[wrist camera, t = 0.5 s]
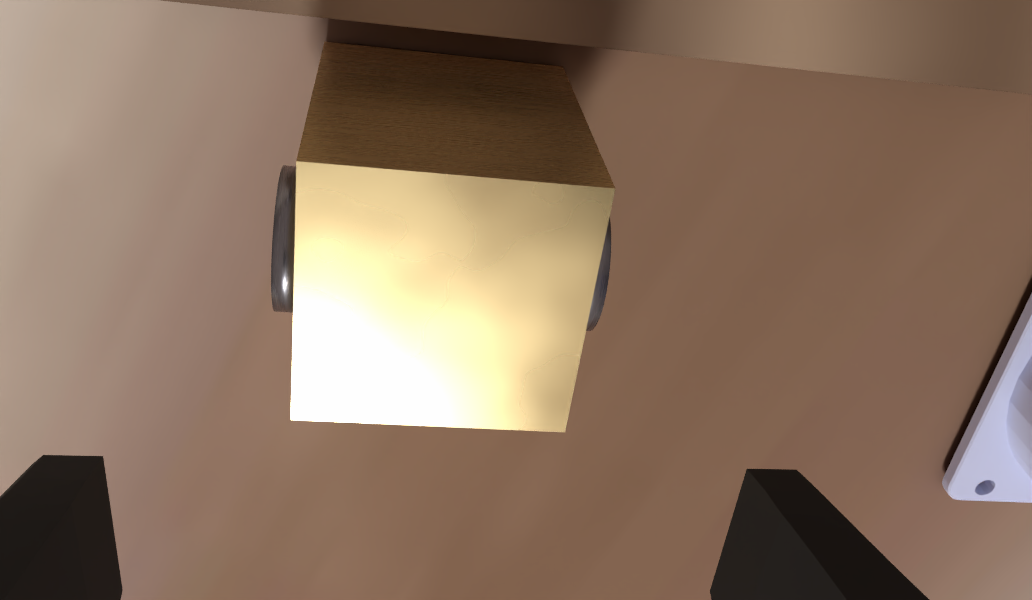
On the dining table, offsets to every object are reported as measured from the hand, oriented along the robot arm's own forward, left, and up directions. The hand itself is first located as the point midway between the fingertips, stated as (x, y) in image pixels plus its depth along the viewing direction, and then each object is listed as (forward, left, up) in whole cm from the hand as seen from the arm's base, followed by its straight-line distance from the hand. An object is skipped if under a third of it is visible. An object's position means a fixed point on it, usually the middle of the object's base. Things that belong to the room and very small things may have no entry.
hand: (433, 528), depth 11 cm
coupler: (0, 0, -10) cm, 10 cm away
